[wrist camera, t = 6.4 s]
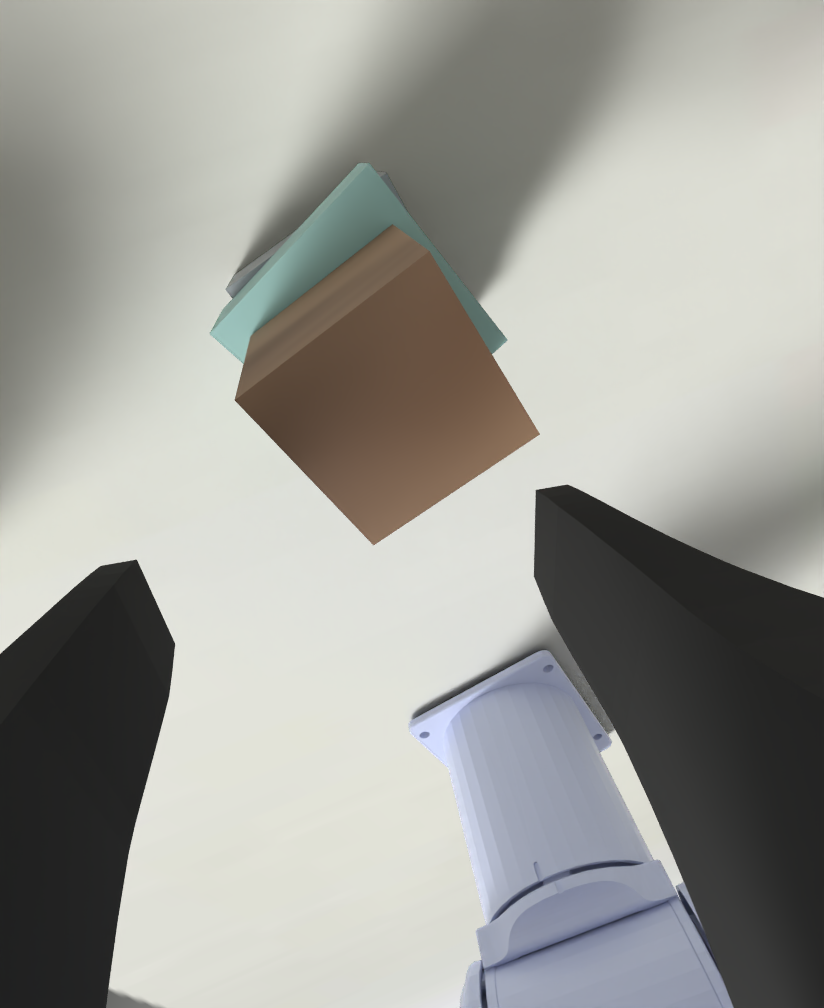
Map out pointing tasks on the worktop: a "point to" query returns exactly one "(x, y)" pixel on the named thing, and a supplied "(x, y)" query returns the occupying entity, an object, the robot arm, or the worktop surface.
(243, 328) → the mid slab
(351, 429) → the walnut cube
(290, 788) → the worktop surface
